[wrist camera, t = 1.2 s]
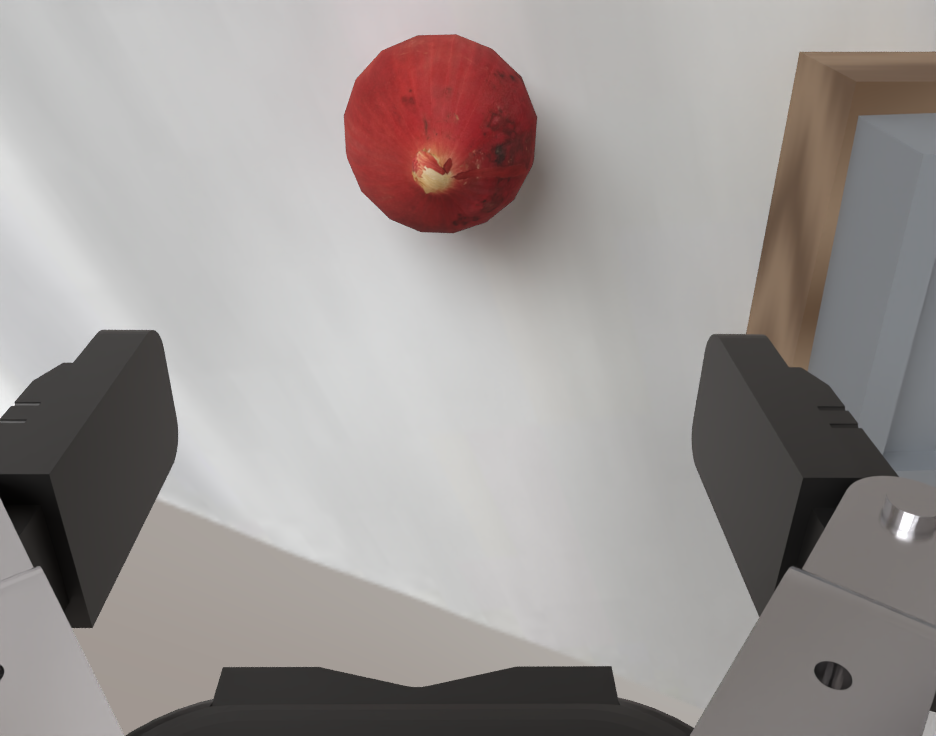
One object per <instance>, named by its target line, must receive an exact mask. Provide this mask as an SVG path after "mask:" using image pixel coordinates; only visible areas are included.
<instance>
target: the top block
mask: <svg viewBox="0 0 936 736" xmlns="http://www.w3.org/2000/svg"><path fill="white" fill-rule="evenodd" d="M808 372H809V373H811V374H812V375H814V376H815V377H817V378H818V379H820V380H821V381H823V382H825V383H826V384H828V385H829V386H830V387H831V388H832V390H833V391H834V392H835V394H836V395H837V396H838V398H839V399H840V400H841V402H842V403H843V404H844V405H845V411H849V412H850V413H851V415H852V416H853V417H854V419H855V420H856V421H857V423H858V428H862V429H863V430H864V432H865V433H866V434H867V436H868V437H869V438H870V440H871V441H872V442H873V443H874V445H875V446H876V447H877V449H878V450H879V451H880V453H881V454H882V455H883V457H884V458H885V459H886V460H887V462H888V463H889V464H890V466H891V467H892V468H893V470H894V471H895V472H896V474H897V475H898V476H899V477H902V478H907V479H912V480H915V481H919V482H922V483H925V484H928V485H930V486H933V487H935V488H936V113H921V114H891V115H862V116H858V121H857V126H856V131H855V136H854V141H853V146H852V151H851V156H850V161H849V166H848V171H847V176H846V181H845V186H844V191H843V196H842V201H841V206H840V211H839V216H838V221H837V226H836V231H835V236H834V241H833V246H832V251H831V256H830V261H829V266H828V271H827V276H826V281H825V286H824V291H823V296H822V301H821V306H820V311H819V316H818V321H817V326H816V331H815V336H814V341H813V346H812V351H811V356H810V361H809V366H808Z"/></svg>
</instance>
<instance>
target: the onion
mask: <svg viewBox="0 0 936 736" xmlns="http://www.w3.org/2000/svg"><path fill="white" fill-rule="evenodd" d="M536 124H537V116H536V113H535V111H534V108H533V106H532V103H531V100H530V98H529V95H528V92H527V90H526V87H525V85H524V82H523V79H522V77H521V76H520V75H519V74H518V73H517V72H516V71H515V70H514V69H513V68H512V67H510V66H509V65H508V64H507V63H506V62H505V61H504V60H503V59H502V58H501V57H500V56H499V55H498V54H497V53H496V52H495V51H494V50H493V49H491V48H489V47H486V46H484V45H481V44H479V43H476V42H474V41H471V40H469V39H466V38H464V37H461V36H459V35H456V34H455V35H418V36H415V37H413V38H411V39H408V40H406V41H404V42H401V43H399V44H397V45H394V46H392V47H389V48H387V49H385V50H382V51H381V52H380V53H379V54H378V56H377V57H376V58H375V59H374V60H373V61H372V62H371V63H370V64H369V65H368V67H367V68H366V69H365V70H364V71H363V72H362V73H361V74H360V75H359V77H358V78H357V79H356V80H355V83H354V86H353V89H352V92H351V96H350V99H349V102H348V105H347V108H346V111H345V114H344V125H345V143H346V154H347V159H348V161H349V164H350V166H351V168H352V171H353V173H354V175H355V177H356V180H357V182H358V184H359V187H360V189H361V191H362V192H363V193H364V194H365V195H366V196H367V197H368V198H369V199H370V200H371V201H372V202H373V203H374V204H375V205H376V206H377V207H378V208H379V209H380V210H381V211H382V212H383V213H384V214H385V215H386V216H387V217H388V218H389V219H391V220H393V221H396V222H398V223H401V224H403V225H405V226H408V227H410V228H413V229H415V230H417V231H420V232H435V233H455V232H458V231H461V230H464V229H467V228H470V227H473V226H476V225H479V224H482V223H485V222H487V221H488V220H489V219H491V218H492V217H493V216H494V215H496V214H497V213H498V212H499V211H501V210H502V209H503V208H504V207H506V206H507V205H508V204H509V203H511V202H512V201H513V200H514V199H515V197H516V195H517V193H518V191H519V189H520V188H521V186H522V184H523V182H524V180H525V178H526V176H527V174H528V173H529V171H530V169H531V167H532V165H533V161H534V152H535V138H536Z"/></svg>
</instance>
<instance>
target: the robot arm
mask: <svg viewBox="0 0 936 736" xmlns="http://www.w3.org/2000/svg"><path fill="white" fill-rule="evenodd" d="M177 445H178V424H177V417H176V412H175V407H174V401H173V396H172V390H171V385H170V379H169V374H168V368H167V363H166V358H165V352H164V347H163V343H162V340H161V338H160V336H159V334H158V333H157V332H156V331H154V330H101V331H99V332H98V333H97V334H96V335H95V337H94V338H93V339H92V340H91V341H90V343H89V344H88V345H87V346H86V348H85V349H84V350H83V351H82V353H81V354H80V355H79V356H78V357H77V359H76V360H75V361H74V362H73V363H62V364H60V365H59V366H57V367H55V368H54V369H52V370H50V371H49V372H47V373H45V374H44V375H42V376H40V377H39V378H37V379H35V380H34V381H32V383H31V384H30V385H29V386H28V387H27V388H26V389H25V391H24V392H23V393H22V394H21V395H20V396H19V398H18V399H17V400H16V401H15V406H11V407H10V408H9V409H8V410H7V411H6V413H5V414H4V415H3V416H2V417H1V418H0V736H124V734H123V732H122V730H121V728H120V726H119V724H118V722H117V720H116V717H115V716H114V713H113V711H112V709H111V707H110V705H109V703H108V701H107V699H106V697H105V695H104V693H103V691H102V689H101V687H100V685H99V683H98V681H97V679H96V677H95V675H94V673H93V671H92V669H91V667H90V665H89V663H88V661H87V659H86V657H85V655H84V653H83V651H82V648H81V646H80V644H79V642H78V640H77V638H76V636H75V634H74V633H73V630H72V628H93V626H94V623H95V622H96V620H97V617H98V616H99V614H100V612H101V610H102V607H103V605H104V603H105V601H106V599H107V597H108V595H109V593H110V591H111V589H112V587H113V585H114V583H115V581H116V579H117V577H118V575H119V573H120V571H121V569H122V567H123V565H124V563H125V561H126V559H127V557H128V555H129V553H130V551H131V549H132V547H133V544H134V543H135V541H136V538H137V536H138V534H139V532H140V530H141V528H142V526H143V524H144V522H145V520H146V518H147V516H148V514H149V512H150V510H151V508H152V506H153V504H154V502H155V500H156V498H157V496H158V494H159V492H160V490H161V488H162V486H163V484H164V482H165V480H166V478H167V476H168V474H169V472H170V469H171V467H172V465H173V463H174V460H175V457H176V452H177ZM692 451H693V458H694V462H695V466H696V468H697V471H698V473H699V475H700V478H701V480H702V482H703V485H704V487H705V490H706V492H707V494H708V497H709V499H710V501H711V504H712V506H713V508H714V511H715V513H716V516H717V518H718V520H719V523H720V525H721V527H722V530H723V532H724V534H725V537H726V539H727V542H728V544H729V546H730V549H731V551H732V553H733V556H734V558H735V561H736V563H737V565H738V568H739V570H740V572H741V575H742V577H743V579H744V582H745V584H746V587H747V589H748V591H749V594H750V596H751V598H752V601H753V603H754V605H755V608H756V610H757V613H758V615H759V619H758V621H757V622H756V624H755V626H754V627H753V629H752V631H751V633H750V634H749V636H748V638H747V639H746V641H745V643H744V644H743V646H742V648H741V649H740V651H739V653H738V655H737V656H736V658H735V660H734V661H733V663H732V665H731V666H730V668H729V670H728V672H727V673H726V675H725V677H724V678H723V680H722V682H721V683H720V685H719V687H718V688H717V690H716V692H715V694H714V695H713V697H712V699H711V700H710V702H709V704H708V705H707V707H706V709H705V711H704V712H703V714H702V716H701V717H700V719H699V721H698V722H697V724H696V726H695V728H693V727H691V726H689V725H688V724H686V723H684V722H682V721H681V720H679V719H677V718H675V717H673V716H670V715H668V714H666V713H663V712H661V711H659V710H657V709H655V708H652V707H649V706H646V705H643V704H640V703H637V702H633V701H630V700H626V699H622V698H618V697H617V692H616V687H615V682H614V677H613V672H612V667H611V666H583V667H581V666H580V667H513V668H509V669H504V670H499V671H494V672H490V673H486V674H481V675H476V676H472V677H467V678H463V679H458V680H454V681H449V682H445V683H440V684H435V685H431V686H426V687H408V686H403V685H398V684H394V683H389V682H384V681H380V680H376V679H371V678H366V677H362V676H357V675H353V674H348V673H344V672H339V671H334V670H330V669H325V668H321V667H223V669H222V672H221V676H220V679H219V683H218V686H217V689H216V693H215V696H214V699H212V700H208V701H203V702H199V703H196V704H193V705H190V706H187V707H184V708H181V709H178V710H175V711H173V712H170V713H168V714H166V715H163V716H161V717H159V718H157V719H154V720H152V721H151V722H149V723H147V724H145V725H143V726H141V727H140V728H137V729H136V730H134V731H132V732H131V733H129V734H128V735H126V736H922V734H923V731H924V727H925V724H926V721H927V718H928V714H929V711H933V712H936V488H935V487H933V486H930V485H928V484H925V483H922V482H919V481H915V480H912V479H907V478H902V477H899V476H898V475H897V474H896V472H895V471H894V470H893V468H892V467H891V466H890V464H889V463H888V462H887V460H886V459H885V458H884V457H883V455H882V454H881V453H880V451H879V450H878V449H877V447H876V446H875V445H874V443H873V442H872V441H871V440H870V438H869V437H868V436H867V434H866V433H865V432H864V430H863V429H862V428H858V423H857V421H856V420H855V419H854V417H853V416H852V415H851V413H850V412H849V411H845V405H844V404H843V403H842V402H841V400H840V399H839V398H838V396H837V395H836V394H835V392H834V391H833V390H832V388H831V387H830V386H829V385H828V384H826V383H825V382H823V381H821V380H820V379H818V378H817V377H815V376H814V375H812V374H811V373H809V372H808V371H806V370H805V369H803V368H801V367H789V366H788V365H787V364H786V362H785V361H784V359H783V358H782V357H781V355H780V354H779V352H778V351H777V350H776V348H775V347H774V345H773V344H772V343H771V341H770V340H769V338H768V337H767V336H766V335H763V334H713V335H712V336H711V337H710V338H709V340H708V342H707V345H706V349H705V354H704V360H703V366H702V372H701V378H700V384H699V390H698V395H697V401H696V407H695V413H694V419H693V426H692Z"/></svg>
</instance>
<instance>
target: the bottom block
mask: <svg viewBox="0 0 936 736" xmlns="http://www.w3.org/2000/svg"><path fill="white" fill-rule="evenodd" d="M921 113H936V52H800V53H799V58H798V64H797V69H796V74H795V79H794V85H793V90H792V95H791V100H790V106H789V111H788V116H787V122H786V127H785V132H784V137H783V143H782V148H781V153H780V158H779V164H778V169H777V174H776V179H775V185H774V190H773V195H772V200H771V206H770V211H769V216H768V222H767V227H766V232H765V237H764V243H763V248H762V253H761V258H760V264H759V269H758V274H757V279H756V285H755V290H754V295H753V300H752V306H751V311H750V316H749V322H748V327H747V332H746V334H763V335H766V336H767V337H768V338H769V340H770V341H771V343H772V344H773V345H774V347H775V348H776V350H777V351H778V352H779V354H780V355H781V357H782V358H783V359H784V361H785V362H786V364H787V365H788V366H789V367H801V368H803V369H805V370H806V371H808V366H809V361H810V356H811V351H812V346H813V341H814V336H815V331H816V326H817V321H818V316H819V311H820V306H821V301H822V296H823V291H824V286H825V281H826V276H827V271H828V266H829V261H830V256H831V251H832V246H833V241H834V236H835V231H836V226H837V221H838V216H839V211H840V206H841V201H842V196H843V191H844V186H845V181H846V176H847V171H848V166H849V161H850V156H851V151H852V146H853V141H854V136H855V131H856V126H857V121H858V116H862V115H891V114H921Z"/></svg>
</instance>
